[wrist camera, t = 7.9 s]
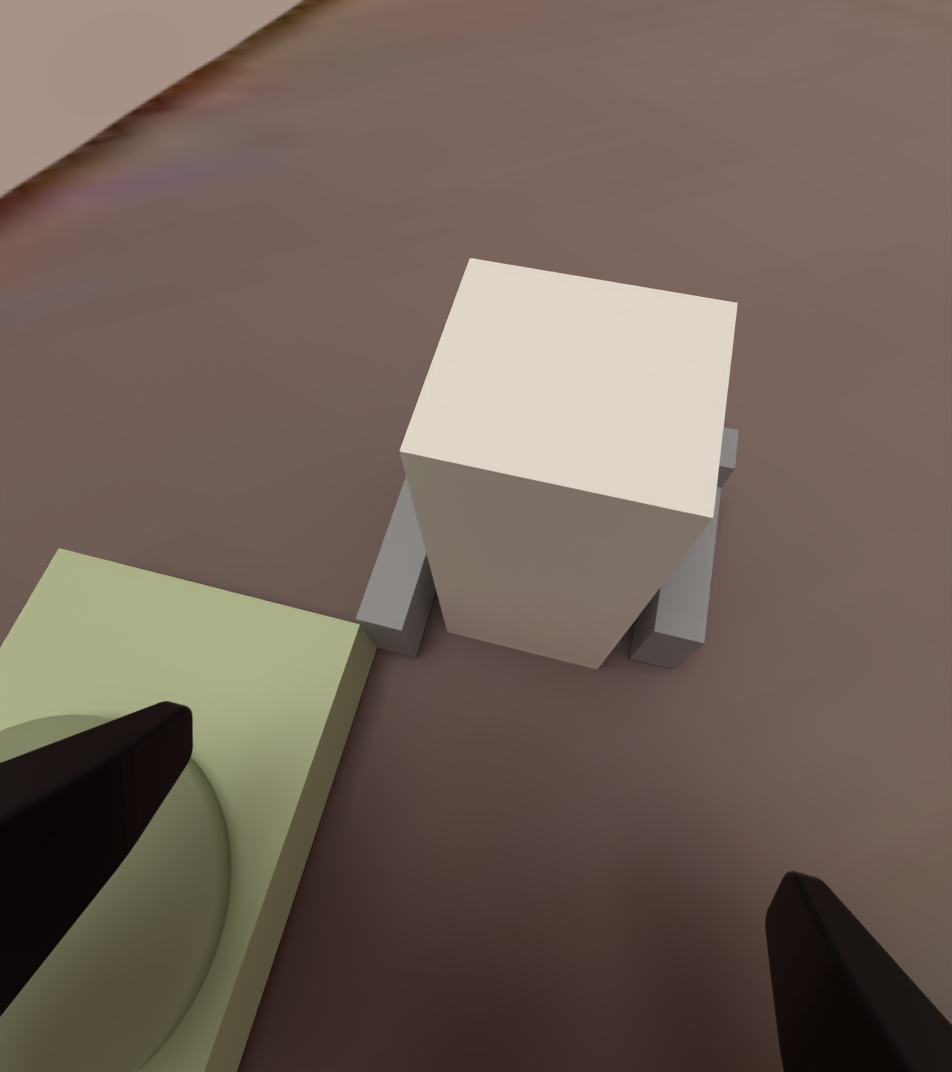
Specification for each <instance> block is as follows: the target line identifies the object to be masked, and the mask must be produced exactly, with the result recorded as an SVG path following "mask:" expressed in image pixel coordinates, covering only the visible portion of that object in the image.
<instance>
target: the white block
mask: <svg viewBox="0 0 952 1072" xmlns="http://www.w3.org/2000/svg"><path fill="white" fill-rule="evenodd" d="M736 312H737V303H734V302H728V301H722V300H716V299H710V298H704V297H699V296H693V295H687V294H681V293H675V292H669V291H663V290H657V289H651V288H645V287H639V286H633V285H627V284H621V283H615V282H609V281H603V280H597V279H591V278H585V277H579V276H573V275H567V274H561V273H555V272H549V271H543V270H537V269H532V268H526V267H520V266H514V265H508V264H502V263H496V262H490V261H484V260H478V259H472V258H470V259H469V262H468V265H467V268H466V270H465V273H464V276H463V279H462V281H461V284H460V287H459V290H458V292H457V295H456V298H455V301H454V303H453V306H452V309H451V312H450V314H449V317H448V320H447V322H446V325H445V328H444V331H443V333H442V336H441V339H440V342H439V344H438V347H437V350H436V353H435V355H434V358H433V361H432V364H431V366H430V369H429V372H428V375H427V377H426V380H425V383H424V386H423V388H422V391H421V394H420V396H419V399H418V402H417V405H416V407H415V410H414V413H413V416H412V418H411V421H410V424H409V427H408V429H407V432H406V435H405V438H404V440H403V443H402V446H401V449H400V455H401V459H402V463H403V466H404V470H405V474H406V478H407V482H408V485H409V489H410V493H411V497H412V500H413V504H414V508H415V512H416V516H417V519H418V523H419V527H420V531H421V535H422V538H423V542H424V546H425V550H426V554H427V557H428V561H429V565H430V569H431V572H432V576H433V580H434V584H435V588H436V591H437V595H438V599H439V603H440V607H441V610H442V614H443V618H444V622H445V626H446V629H447V632H449V633H453V634H457V635H461V636H465V637H469V638H473V639H477V640H481V641H485V642H489V643H493V644H497V645H501V646H504V647H508V648H512V649H516V650H520V651H524V652H528V653H532V654H536V655H540V656H544V657H548V658H552V659H556V660H560V661H564V662H568V663H572V664H576V665H580V666H584V667H588V668H592V669H596V670H597V669H598V668H599V667H600V666H601V664H602V663H603V662H604V660H605V659H606V658H607V656H608V655H609V654H610V652H611V651H612V650H613V649H614V647H615V646H616V645H617V643H618V642H619V641H620V639H621V638H622V637H623V635H624V634H625V633H626V632H627V630H628V629H629V628H630V626H631V625H632V624H633V622H634V621H635V620H636V618H637V617H638V616H639V615H640V613H641V612H642V611H643V609H644V608H645V607H646V605H647V604H648V603H649V601H650V600H651V599H652V598H653V596H654V595H655V594H656V592H657V591H658V590H659V588H660V587H661V586H662V584H663V583H664V582H665V581H666V579H667V578H668V577H669V575H670V574H671V573H672V571H673V570H674V569H675V567H676V566H677V565H678V563H679V562H680V561H681V560H682V558H683V557H684V556H685V554H686V553H687V552H688V550H689V549H690V548H691V546H692V545H693V544H694V543H695V541H696V540H697V539H698V537H699V536H700V535H701V533H702V532H703V531H704V529H705V528H706V527H707V526H708V524H709V523H710V522H711V520H712V519H713V515H714V507H715V498H716V489H717V480H718V471H719V462H720V454H721V445H722V436H723V427H724V418H725V409H726V400H727V392H728V383H729V374H730V365H731V356H732V347H733V339H734V330H735V321H736Z"/></svg>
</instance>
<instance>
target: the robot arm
mask: <svg viewBox="0 0 952 1072" xmlns="http://www.w3.org/2000/svg"><path fill="white" fill-rule="evenodd" d="M192 751H193V714H192V711H191V709H190V708H189V707H188V706H185V705H182V704H178V703H174V702H171V701H163V702H159V703H157V704H154V705H151V706H149V707H146V708H144V709H141V710H138V711H136V712H133V713H130V714H128V715H125V716H122V717H120V718H117V719H114V720H112V721H109V722H107V723H104V724H101V725H99V726H96V727H93V728H91V729H88V730H85V731H83V732H80V733H78V734H75V735H72V736H70V737H67V738H64V739H62V740H59V741H56V742H54V743H51V744H48V745H46V746H43V747H41V748H38V749H35V750H33V751H30V752H27V753H25V754H22V755H19V756H17V757H14V758H11V759H9V760H6V761H4V762H1V763H0V1017H1V1016H2V1014H3V1013H4V1012H5V1011H6V1009H7V1008H8V1007H9V1005H10V1004H11V1003H12V1002H13V1000H14V999H15V998H16V997H17V995H18V994H19V993H20V992H21V990H22V989H23V988H24V986H25V985H26V984H27V983H28V981H29V980H30V979H31V978H32V976H33V975H34V974H35V973H36V971H37V970H38V969H39V968H40V966H41V965H42V964H43V962H44V961H45V960H46V959H47V957H48V956H49V955H50V954H51V952H52V951H53V950H54V949H55V947H56V946H57V945H58V944H59V942H60V941H61V940H62V938H63V937H64V936H65V935H66V933H67V932H68V931H69V930H70V928H71V927H72V926H73V925H74V923H75V922H76V921H77V920H78V918H79V917H80V916H81V914H82V913H83V912H84V911H85V909H86V908H87V907H88V906H89V904H90V903H91V902H92V901H93V899H94V898H95V897H96V896H97V894H98V893H99V892H100V890H101V889H102V888H103V887H104V885H105V884H106V883H107V882H108V880H109V879H110V878H111V877H112V875H113V874H114V873H115V871H116V870H117V869H118V868H119V866H120V865H121V864H122V862H123V861H124V860H125V858H126V857H127V856H128V854H129V853H130V851H131V850H132V849H133V847H134V846H135V844H136V843H137V841H138V840H139V838H140V837H141V835H142V834H143V832H144V831H145V829H146V828H147V826H148V825H149V823H150V821H151V820H152V818H153V817H154V815H155V814H156V812H157V811H158V809H159V808H160V806H161V805H162V803H163V801H164V800H165V798H166V797H167V795H168V794H169V792H170V791H171V789H172V788H173V786H174V784H175V783H176V781H177V780H178V778H179V777H180V775H181V774H182V772H183V771H184V769H185V768H186V766H187V764H188V762H189V760H190V758H191V755H192ZM765 930H766V939H767V947H768V956H769V964H770V972H771V981H772V989H773V998H774V1006H775V1015H776V1023H777V1032H778V1039H779V1046H780V1053H781V1059H782V1064H783V1069H784V1072H952V1025H951V1023H950V1022H949V1021H948V1020H947V1019H946V1018H945V1017H944V1016H943V1014H942V1013H941V1012H940V1011H939V1010H938V1009H937V1008H936V1007H935V1006H934V1004H933V1003H932V1002H931V1001H930V1000H929V999H928V998H927V997H926V995H925V994H924V993H923V992H922V991H921V990H920V989H919V988H918V987H917V985H916V984H915V983H914V982H913V981H912V980H911V979H910V978H909V976H908V975H907V974H906V973H905V972H904V971H903V970H902V969H901V967H900V966H899V965H898V964H897V963H896V962H895V961H894V960H893V959H892V957H891V956H890V955H889V954H888V953H887V952H886V951H885V950H884V948H883V947H882V946H881V945H880V944H879V943H878V942H877V941H876V940H875V938H874V937H873V936H872V935H871V934H870V933H869V932H868V931H867V929H866V928H865V927H864V926H863V925H862V924H861V923H860V922H859V921H858V919H857V918H856V917H855V916H854V915H853V914H852V913H851V912H850V910H849V909H848V908H847V907H846V906H845V905H844V904H843V903H842V901H841V900H840V899H839V898H838V897H837V896H836V895H835V894H834V893H833V891H832V890H831V889H830V888H829V887H828V886H827V885H826V884H825V883H824V882H823V881H822V880H821V879H819V878H817V877H814V876H810V875H806V874H803V873H799V872H795V871H789V872H787V873H786V874H785V875H784V877H783V879H782V881H781V883H780V885H779V887H778V889H777V891H776V893H775V895H774V897H773V899H772V902H771V904H770V906H769V908H768V910H767V914H766V920H765Z"/></svg>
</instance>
